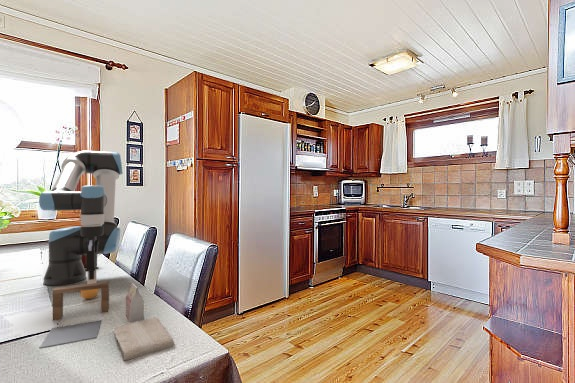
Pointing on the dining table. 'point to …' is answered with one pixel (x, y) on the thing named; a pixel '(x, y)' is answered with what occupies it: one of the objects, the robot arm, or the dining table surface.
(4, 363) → the dining table surface
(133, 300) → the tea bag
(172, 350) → the dining table surface
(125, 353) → the washcloth
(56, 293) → the bridge
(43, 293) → the dining table surface
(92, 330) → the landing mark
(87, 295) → the ball
